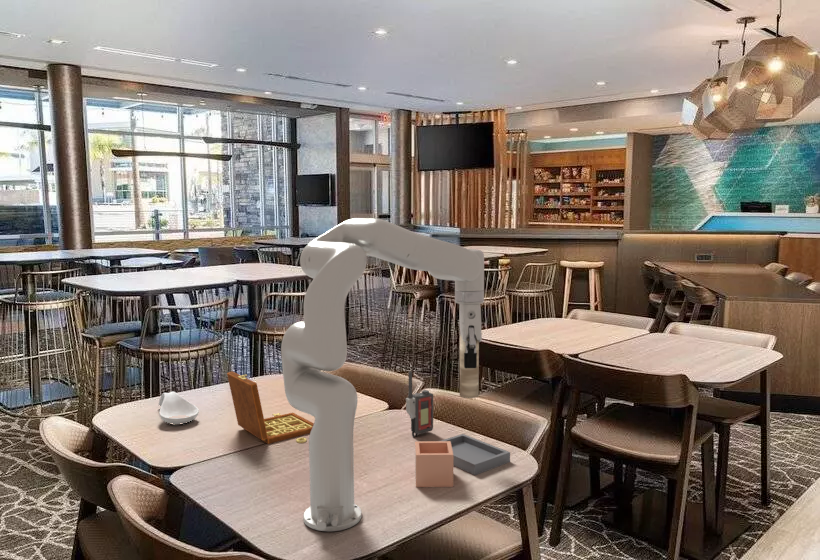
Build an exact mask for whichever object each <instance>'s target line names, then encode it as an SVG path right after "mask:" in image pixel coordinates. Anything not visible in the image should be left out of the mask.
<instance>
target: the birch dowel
mask: <svg viewBox="0 0 820 560" xmlns="http://www.w3.org/2000/svg"><path fill="white" fill-rule="evenodd" d="M467 341H469V339H467ZM468 344H469V343H468ZM468 344H467V345H468ZM479 350H480V342H479V341H478V340H477V339H476V353H477V367H476V368H465V367H464V353H465V342H464V341H463V340H462V337H461V335H460V334H459V397H461V398H463V399H476V398H478V397H479V394H480V393H479V391H480V390H479V389H480V388H479V387H480V386H479V384H480V383H479V378H480V377H479V375H480V368H479V367H480V364H479V363H480V361H479V359H480V351H479Z"/></svg>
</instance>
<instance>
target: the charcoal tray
mask: <svg viewBox="0 0 820 560" xmlns="http://www.w3.org/2000/svg"><path fill="white" fill-rule="evenodd" d="M440 441H451V446H452V450H453V467H456V468H457V469H460V470H461V471H464V472H466V473H469V474H471V475H473V476H477V475H479V474H482V473H485V472H487V471H490V470H493V469H495V468H498V467H500V466H503V465H505V464H509V463H510V462H511V452H510V451H509V450H508V451H507V450H505V449H504V448H500V447H498V446H495V445H492V444H490V443H487V442H485V441H482V440H480V439H477V438H475V437H471V436H470V435H466V434H465V433H462V434H458V435H454V436H451V437H448V438H444V439H442V440H440Z"/></svg>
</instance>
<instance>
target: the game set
mask: <svg viewBox="0 0 820 560" xmlns="http://www.w3.org/2000/svg"><path fill="white" fill-rule="evenodd" d="M226 375H227V379H228V385H229V389H230V394H231V398H232V403H233V407H234V412H235V417H236V422H237V424H238V426H239V427H241V428H242V429H244V431H247V432H248V433H251V434H252V435H253V436H255V437H256V438H257V439H259V440H261V441H263V442H264V443H266V444H273V443H278V442H281V441H285V440H288V439H293V438H296V437H298V438H296V439H295V442H296V443H297V444H303V443H306V442H307V439H308V438H305V437H300V436H304V435H308V434H309V435H310V432H311V430H312V427H313V425H314V422H312V421H310V420H308V419H306V418H304V417H302V416H300V415H299V414H296V413H295V412H290V413H283V414H281V413H280V412H278V413H272V415H274V417H273V416H271V417H266V418H265V416H264V413H263V407H262V402H261V399H260V398H261V397H260V394H259V388H258V384H257V382H255V381H253V380H251V379H248V378H247V376H248V375H247V374H242V375H241V374H238V373H237V372H235V371H229V372H227V373H226ZM269 423H270V424H269Z"/></svg>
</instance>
